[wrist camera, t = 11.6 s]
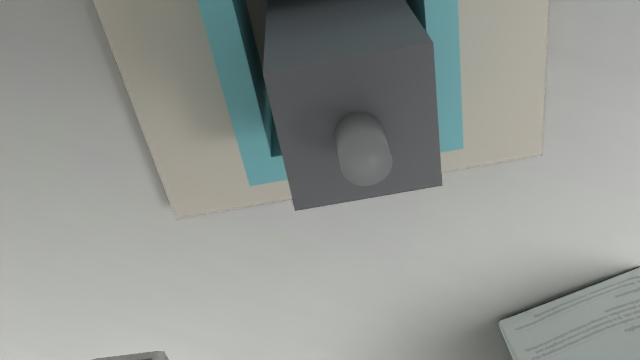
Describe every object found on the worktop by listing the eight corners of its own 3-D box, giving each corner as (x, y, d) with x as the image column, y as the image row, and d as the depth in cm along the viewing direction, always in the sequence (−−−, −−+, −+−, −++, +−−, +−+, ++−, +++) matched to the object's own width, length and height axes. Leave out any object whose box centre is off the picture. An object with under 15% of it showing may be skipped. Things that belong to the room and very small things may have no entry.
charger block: (381, -36, 20) (449, 66, 12) (392, 72, 22) (456, 218, 14) (268, -14, 20) (261, 100, 12) (289, 90, 22) (296, 246, 14)
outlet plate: (547, -245, 18) (619, -260, 14) (533, 144, 25) (577, 201, 22) (49, -144, 19) (-10, -132, 15) (179, 206, 26) (162, 273, 22)
